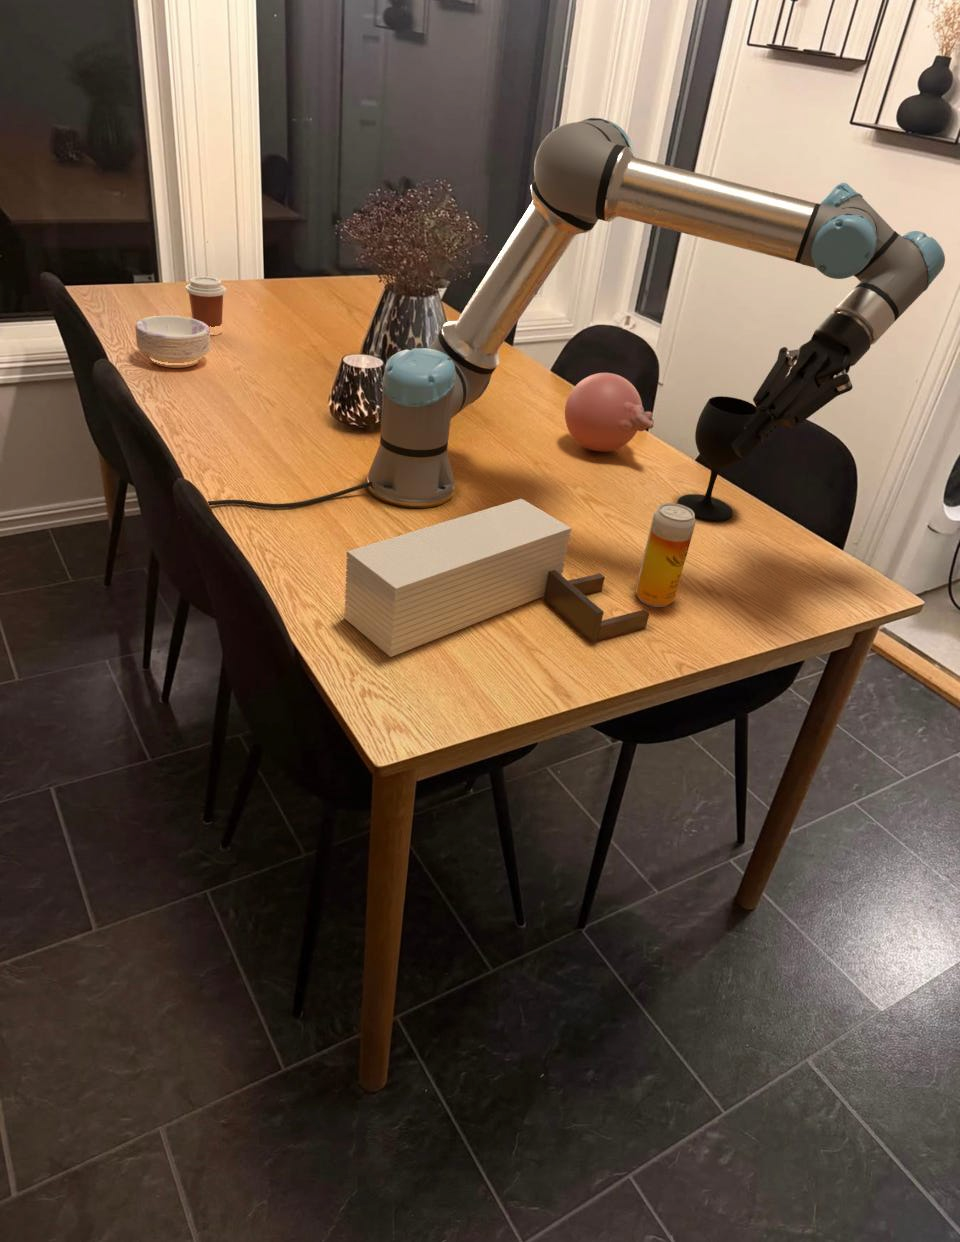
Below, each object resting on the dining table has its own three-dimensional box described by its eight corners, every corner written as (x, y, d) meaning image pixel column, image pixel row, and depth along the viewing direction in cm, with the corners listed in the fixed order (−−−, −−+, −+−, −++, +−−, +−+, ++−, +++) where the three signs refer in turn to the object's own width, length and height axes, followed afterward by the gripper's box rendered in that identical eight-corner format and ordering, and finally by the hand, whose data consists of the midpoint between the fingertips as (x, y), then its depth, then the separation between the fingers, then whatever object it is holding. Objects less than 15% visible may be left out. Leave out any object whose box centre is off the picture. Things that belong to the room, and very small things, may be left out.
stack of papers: (512, 559, 147) (521, 498, 141) (559, 590, 140) (571, 527, 134) (344, 618, 127) (346, 551, 122) (390, 657, 121) (395, 588, 115)
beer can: (673, 612, 139) (697, 524, 130) (633, 604, 139) (654, 516, 131) (674, 592, 144) (697, 506, 135) (635, 584, 144) (656, 498, 136)
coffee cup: (222, 339, 217) (220, 287, 211) (183, 335, 217) (180, 282, 210) (231, 328, 225) (229, 277, 218) (193, 324, 224) (190, 273, 218)
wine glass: (735, 504, 173) (765, 403, 162) (729, 527, 165) (761, 422, 154) (681, 491, 176) (707, 390, 165) (672, 513, 167) (699, 408, 156)
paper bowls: (226, 363, 205) (224, 327, 200) (172, 378, 194) (170, 341, 189) (177, 345, 211) (174, 310, 206) (123, 359, 200) (119, 322, 195)
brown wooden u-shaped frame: (597, 586, 142) (603, 558, 140) (646, 627, 134) (653, 598, 132) (543, 599, 138) (548, 571, 135) (590, 642, 130) (597, 613, 127)
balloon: (612, 479, 176) (629, 402, 168) (543, 440, 189) (555, 367, 180) (666, 465, 185) (684, 391, 177) (596, 428, 197) (610, 358, 189)
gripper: (894, 361, 130) (777, 485, 131) (823, 332, 139) (715, 448, 140) (883, 325, 125) (761, 455, 126) (810, 298, 134) (697, 419, 135)
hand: (737, 451), depth 133 cm, fingers closed
